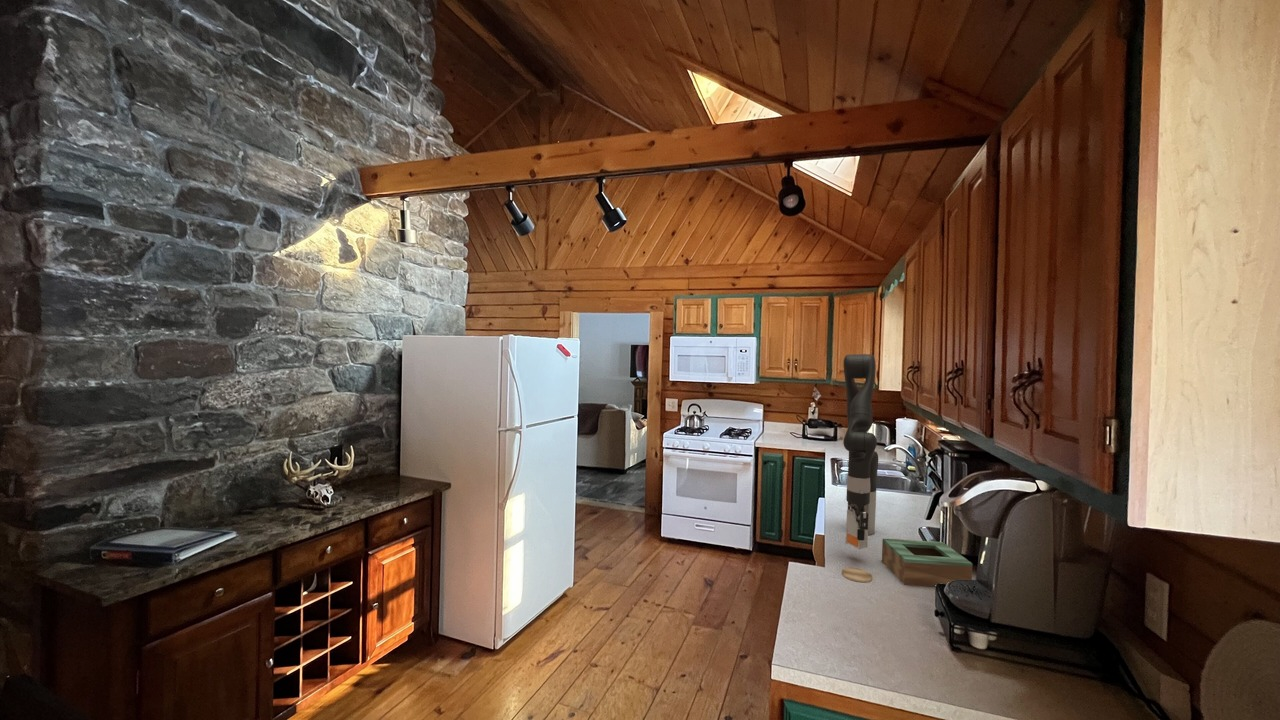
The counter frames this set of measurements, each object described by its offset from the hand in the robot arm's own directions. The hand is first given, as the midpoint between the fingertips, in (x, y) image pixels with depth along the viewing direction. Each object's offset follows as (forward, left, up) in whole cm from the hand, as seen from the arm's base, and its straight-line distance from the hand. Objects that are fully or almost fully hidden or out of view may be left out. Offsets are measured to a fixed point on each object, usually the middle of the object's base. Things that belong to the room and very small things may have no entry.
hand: (856, 535), depth 178 cm
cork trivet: (+14, -4, -8) cm, 17 cm away
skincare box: (0, 0, -4) cm, 4 cm away
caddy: (+9, +19, -8) cm, 22 cm away
